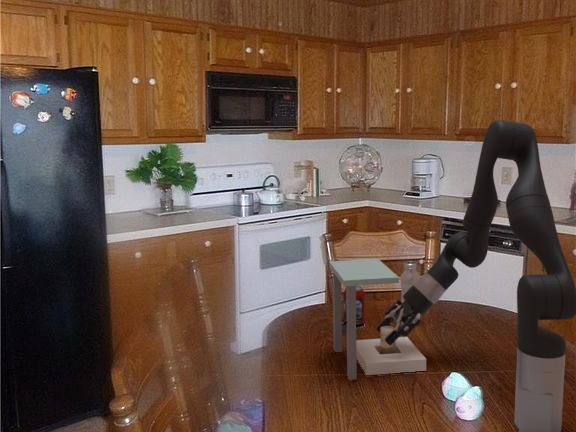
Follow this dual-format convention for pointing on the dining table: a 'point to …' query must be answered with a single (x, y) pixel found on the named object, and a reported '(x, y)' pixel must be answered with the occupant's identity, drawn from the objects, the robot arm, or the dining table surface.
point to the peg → (384, 346)
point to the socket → (389, 357)
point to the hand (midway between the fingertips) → (382, 337)
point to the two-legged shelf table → (354, 299)
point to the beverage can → (357, 304)
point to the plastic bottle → (409, 278)
